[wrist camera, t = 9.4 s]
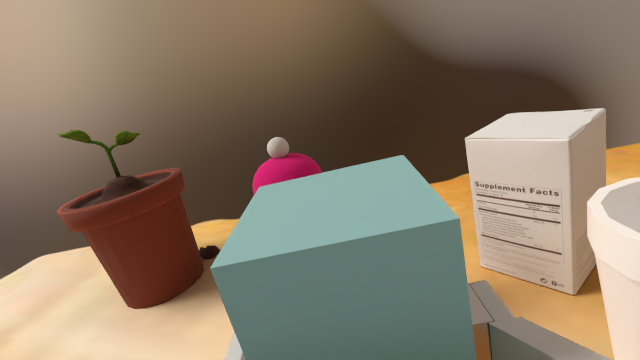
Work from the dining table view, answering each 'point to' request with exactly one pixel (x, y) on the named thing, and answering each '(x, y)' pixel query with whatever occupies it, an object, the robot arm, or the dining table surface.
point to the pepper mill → (283, 165)
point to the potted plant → (139, 231)
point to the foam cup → (618, 261)
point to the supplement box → (538, 194)
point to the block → (348, 269)
